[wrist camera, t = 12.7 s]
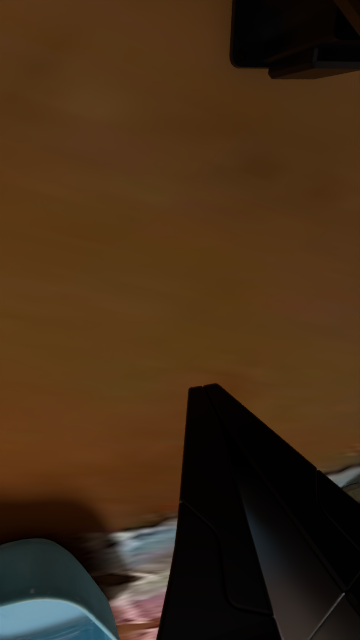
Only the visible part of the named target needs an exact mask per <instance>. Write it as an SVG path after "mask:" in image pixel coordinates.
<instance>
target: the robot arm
mask: <svg viewBox="0 0 360 640" xmlns="http://www.w3.org/2000/svg"><path fill="white" fill-rule="evenodd" d="M239 48H240V49H242V50H243V52H244V58H243V60H242V61H241V60H239V59H238V57H237V52H238V50H239ZM230 61H231V64H232V65H233V66H234V67H236V68H259V69H269V71H268V74H269V76H270V77H271V79H318V78H323V77H328V76H333V75H338V74H343V73H349V72H354V71H359V70H360V0H233V2H232V20H231V38H230ZM274 614H275V617H276V619H277V622H278V625H279V627H280V630H281V632H282V635H283V637H284V640H360V503H359V502H358V501H356V500H355V499H354V498H353V497H351V496H350V495H349V494H348V493H346V492H345V491H344V490H343V489H342V488H340V487H339V486H338V485H337V484H335V483H334V482H333V481H332V480H331V479H329V478H328V477H327V476H326V475H325V474H323V473H322V472H321V471H320V470H317V468H316V467H315V466H314V465H313V464H312V463H310V462H309V461H308V460H307V459H306V458H305V457H303V456H302V455H301V454H300V453H299V452H297V451H296V450H295V449H294V448H293V447H292V446H290V445H289V444H288V443H287V442H286V441H285V440H283V439H282V438H281V437H280V436H279V435H277V434H276V433H275V432H274V431H273V430H272V429H270V428H269V427H268V426H267V425H266V424H265V423H263V422H262V421H261V420H260V419H259V418H257V417H256V416H255V415H254V414H253V413H252V412H250V411H249V410H248V409H247V408H246V407H245V406H243V405H242V404H241V403H240V402H239V401H238V400H236V399H235V398H234V397H233V396H232V395H230V394H229V393H228V392H227V391H226V390H225V389H223V388H222V387H221V386H220V385H219V384H216V383H214V384H208V385H204V386H203V387H202V386H196V387H191V388H189V390H188V401H187V413H186V425H185V437H184V450H183V462H182V474H181V486H180V498H179V508H178V520H177V529H176V538H175V547H174V552H173V558H172V564H171V569H170V575H169V580H168V585H167V590H166V595H165V600H164V604H163V609H162V614H161V619H160V624H159V629H158V634H157V639H156V640H282V639H281V636H280V632H279V629H278V626H277V622H276V619H275V618H274Z"/></svg>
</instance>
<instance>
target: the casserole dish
mask: <svg viewBox="0 0 360 640" xmlns="http://www.w3.org/2000/svg"><path fill="white" fill-rule="evenodd" d="M0 640H120V638H119V635H118V631H117V627H116V624H115V620H114V616H113V613H112V610H111V607H110V604H109V602H108V600H107V598H106V596H105V595H104V593H103V592H102V591H101V589H100V588H99V587H98V585H97V584H96V583H95V582H94V580H93V579H92V578H91V576H90V575H89V574H88V572H87V571H86V570H85V569H84V567H83V566H82V565H81V564H80V563H79V562H78V560H77V559H76V558H75V557H74V556H73V555H72V554H71V553H70V552H68V551H67V550H66V549H64V548H63V547H61V546H60V545H58V544H57V543H55V542H53V541H50V540H47V539H41V538H34V539H25V540H19V541H14V542H10V543H6V544H2V545H0Z"/></svg>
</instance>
